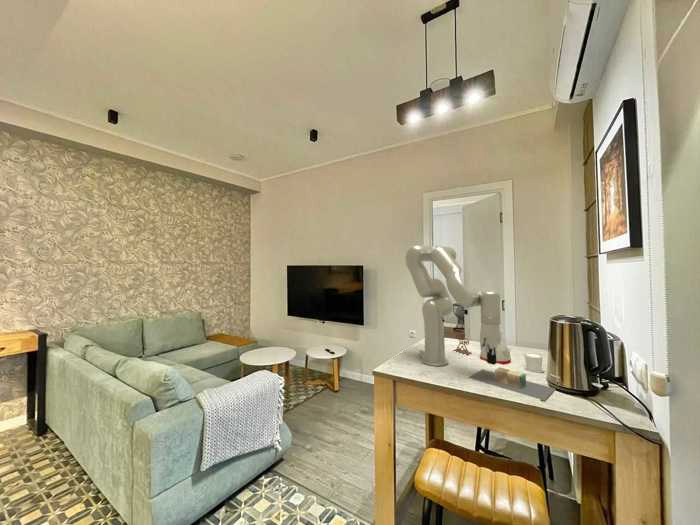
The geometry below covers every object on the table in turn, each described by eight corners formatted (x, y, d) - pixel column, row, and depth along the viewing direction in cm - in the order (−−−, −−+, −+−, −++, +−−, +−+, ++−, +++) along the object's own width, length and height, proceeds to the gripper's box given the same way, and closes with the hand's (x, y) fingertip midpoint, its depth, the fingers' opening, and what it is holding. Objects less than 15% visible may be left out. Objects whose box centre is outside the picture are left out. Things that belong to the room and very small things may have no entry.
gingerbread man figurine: (471, 354, 155) (471, 332, 155) (467, 355, 153) (467, 333, 153) (457, 350, 163) (457, 329, 163) (453, 351, 160) (452, 330, 160)
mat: (467, 378, 122) (467, 377, 122) (482, 370, 132) (482, 369, 132) (544, 401, 101) (544, 400, 101) (555, 389, 111) (555, 388, 111)
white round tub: (530, 367, 135) (530, 352, 135) (546, 372, 128) (545, 356, 129) (521, 369, 132) (521, 354, 132) (536, 374, 126) (536, 358, 126)
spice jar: (494, 370, 119) (521, 376, 111) (499, 367, 122) (525, 373, 114) (495, 380, 119) (521, 388, 111) (499, 377, 122) (525, 385, 114)
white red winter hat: (474, 359, 147) (474, 330, 147) (488, 353, 155) (488, 326, 155) (502, 366, 136) (502, 335, 136) (515, 360, 144) (515, 330, 144)
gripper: (489, 316, 130) (490, 357, 129) (473, 321, 120) (474, 365, 120) (506, 318, 124) (508, 361, 124) (492, 324, 114) (493, 370, 114)
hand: (491, 363), depth 122 cm, fingers closed
